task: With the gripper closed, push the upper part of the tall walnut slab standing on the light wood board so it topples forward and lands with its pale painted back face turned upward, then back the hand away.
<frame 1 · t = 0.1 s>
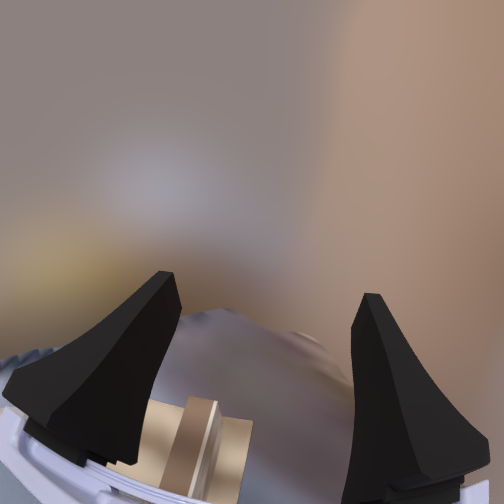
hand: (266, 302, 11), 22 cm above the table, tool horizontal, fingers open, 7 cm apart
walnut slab: (202, 464, 21), resting on light wood board
light wood board: (165, 454, 22), on the table
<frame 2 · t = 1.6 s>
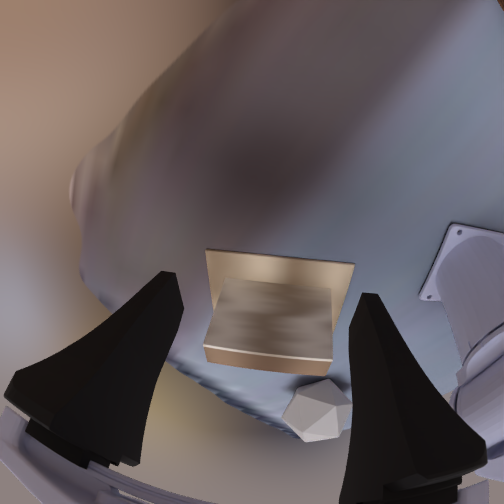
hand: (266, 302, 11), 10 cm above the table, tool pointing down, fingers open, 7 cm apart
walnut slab: (276, 293, 25), resting on light wood board
light wood board: (274, 320, 27), on the table
die: (318, 385, 35), on the table
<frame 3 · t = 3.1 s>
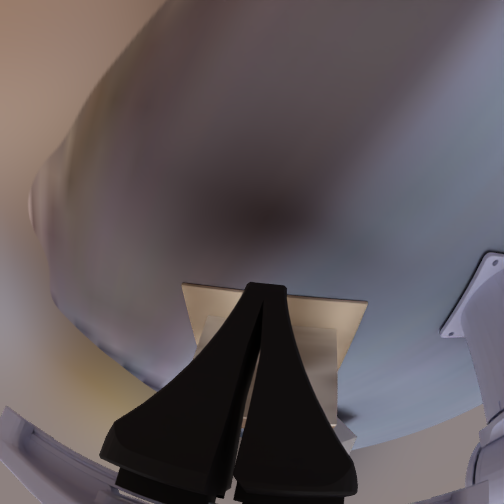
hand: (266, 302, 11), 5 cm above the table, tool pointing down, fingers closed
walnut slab: (270, 333, 20), resting on light wood board
light wood board: (268, 359, 22), on the table
die: (319, 416, 30), on the table
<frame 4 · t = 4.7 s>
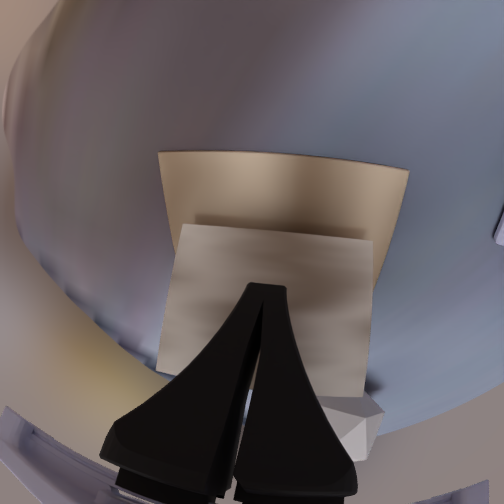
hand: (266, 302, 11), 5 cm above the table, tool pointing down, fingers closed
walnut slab: (277, 241, 14), point 1 cm above the table, tilted 34°, touching light wood board
light wood board: (275, 284, 17), on the table
die: (336, 388, 25), on the table
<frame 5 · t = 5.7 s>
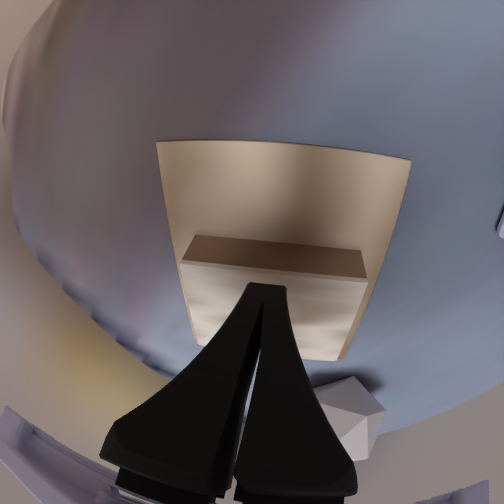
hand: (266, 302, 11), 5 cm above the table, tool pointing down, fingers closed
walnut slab: (275, 256, 14), point 1 cm above the table, tilted 90°, touching light wood board
light wood board: (275, 277, 17), on the table
die: (337, 386, 25), on the table
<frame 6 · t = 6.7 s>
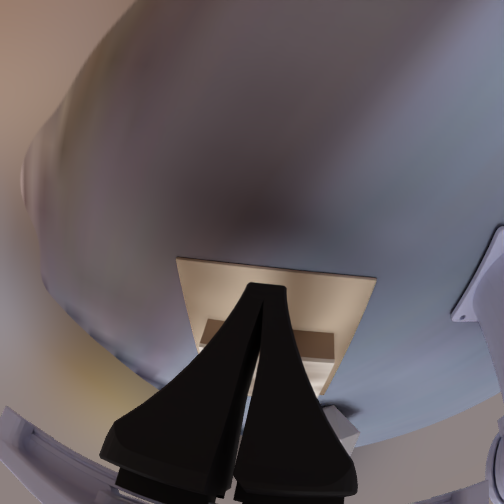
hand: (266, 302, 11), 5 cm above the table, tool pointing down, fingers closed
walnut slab: (268, 341, 18), point 1 cm above the table, tilted 90°, touching light wood board
light wood board: (268, 345, 21), on the table
die: (321, 411, 29), on the table
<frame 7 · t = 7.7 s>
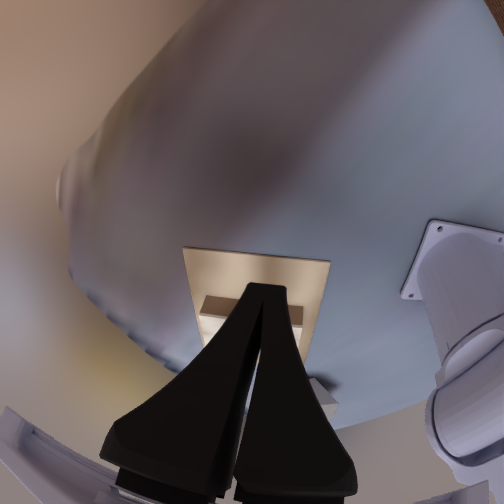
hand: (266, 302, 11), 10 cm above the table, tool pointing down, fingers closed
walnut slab: (251, 311, 25), point 1 cm above the table, tilted 90°, touching light wood board
light wood board: (254, 318, 27), on the table
die: (304, 384, 35), on the table
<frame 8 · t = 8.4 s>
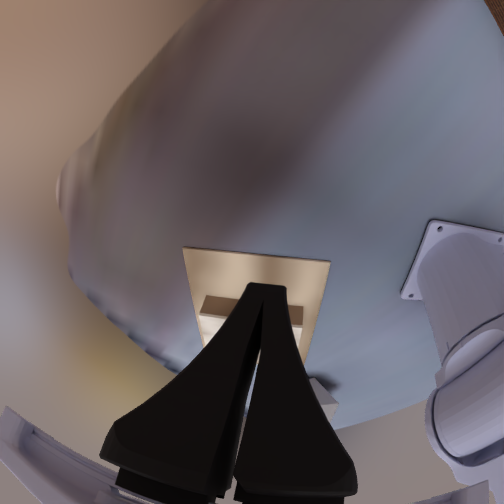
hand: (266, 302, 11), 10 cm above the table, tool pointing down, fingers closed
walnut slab: (251, 311, 25), point 1 cm above the table, tilted 90°, touching light wood board
light wood board: (254, 318, 27), on the table
die: (304, 384, 35), on the table
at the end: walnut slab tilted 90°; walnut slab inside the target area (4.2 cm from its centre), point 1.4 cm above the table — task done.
